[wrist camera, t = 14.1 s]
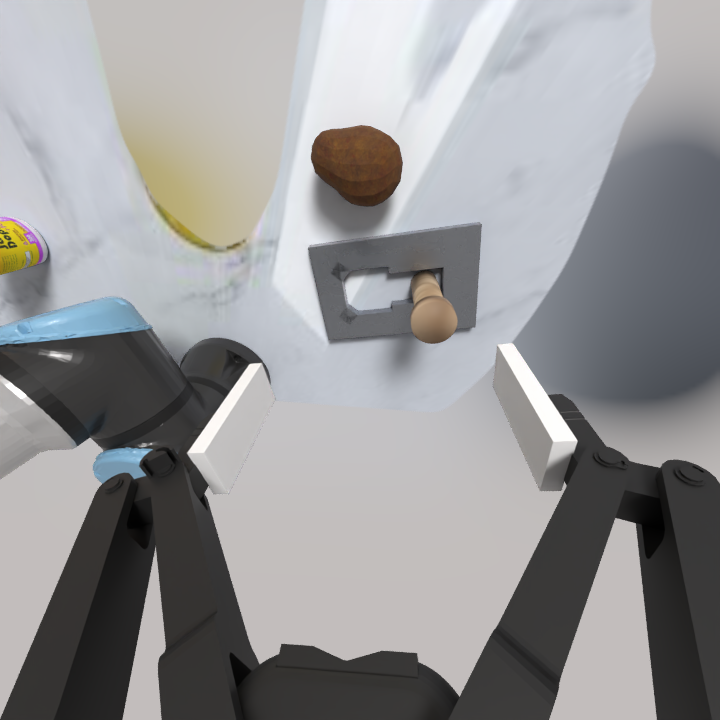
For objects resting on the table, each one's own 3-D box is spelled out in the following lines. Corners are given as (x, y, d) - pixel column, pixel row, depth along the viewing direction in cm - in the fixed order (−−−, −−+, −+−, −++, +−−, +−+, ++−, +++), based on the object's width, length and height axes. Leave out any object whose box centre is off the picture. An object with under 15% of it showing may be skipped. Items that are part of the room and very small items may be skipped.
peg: (407, 300, 45) (412, 345, 34) (405, 268, 42) (409, 304, 32) (441, 297, 44) (456, 341, 33) (441, 264, 42) (458, 300, 31)
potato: (321, 121, 34) (304, 111, 28) (407, 135, 34) (411, 129, 28) (317, 194, 39) (301, 201, 32) (394, 207, 39) (394, 216, 32)
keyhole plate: (330, 335, 49) (328, 339, 48) (310, 245, 42) (307, 247, 41) (473, 322, 46) (475, 327, 45) (478, 222, 39) (481, 224, 37)
